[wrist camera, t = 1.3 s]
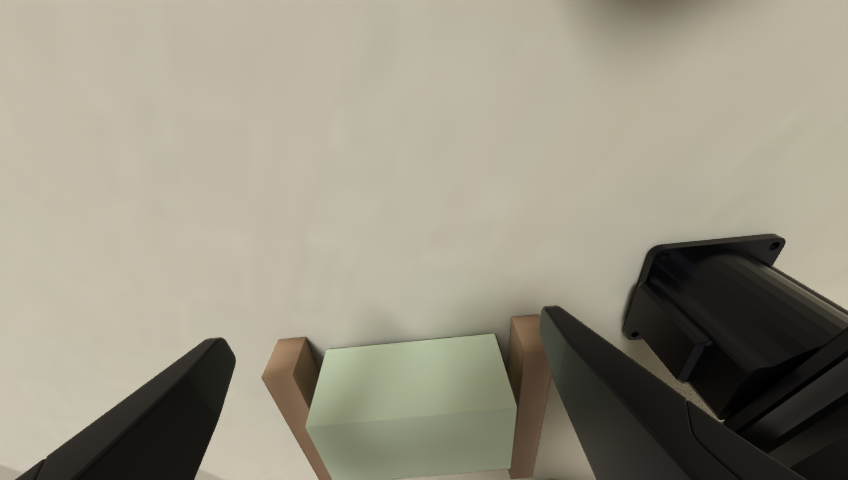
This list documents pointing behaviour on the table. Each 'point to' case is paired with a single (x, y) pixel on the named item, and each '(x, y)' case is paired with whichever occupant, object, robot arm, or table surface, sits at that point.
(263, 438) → the table surface
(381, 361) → the block
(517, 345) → the chute rails
